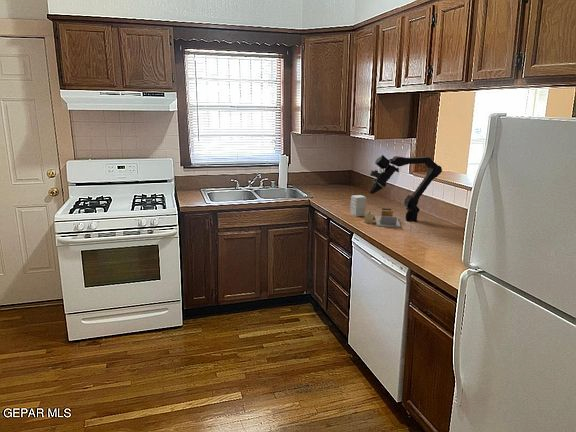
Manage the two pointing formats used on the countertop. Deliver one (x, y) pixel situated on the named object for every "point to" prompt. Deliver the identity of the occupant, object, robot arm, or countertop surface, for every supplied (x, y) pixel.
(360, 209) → the supplement box
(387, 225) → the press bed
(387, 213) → the press ram
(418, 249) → the countertop surface
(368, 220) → the housing
